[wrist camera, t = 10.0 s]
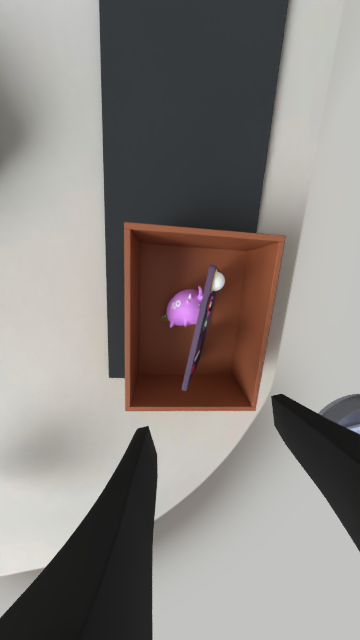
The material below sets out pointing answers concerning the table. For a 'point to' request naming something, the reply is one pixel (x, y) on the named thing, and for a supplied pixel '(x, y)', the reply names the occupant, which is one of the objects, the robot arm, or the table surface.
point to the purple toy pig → (195, 316)
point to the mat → (183, 121)
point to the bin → (175, 343)
